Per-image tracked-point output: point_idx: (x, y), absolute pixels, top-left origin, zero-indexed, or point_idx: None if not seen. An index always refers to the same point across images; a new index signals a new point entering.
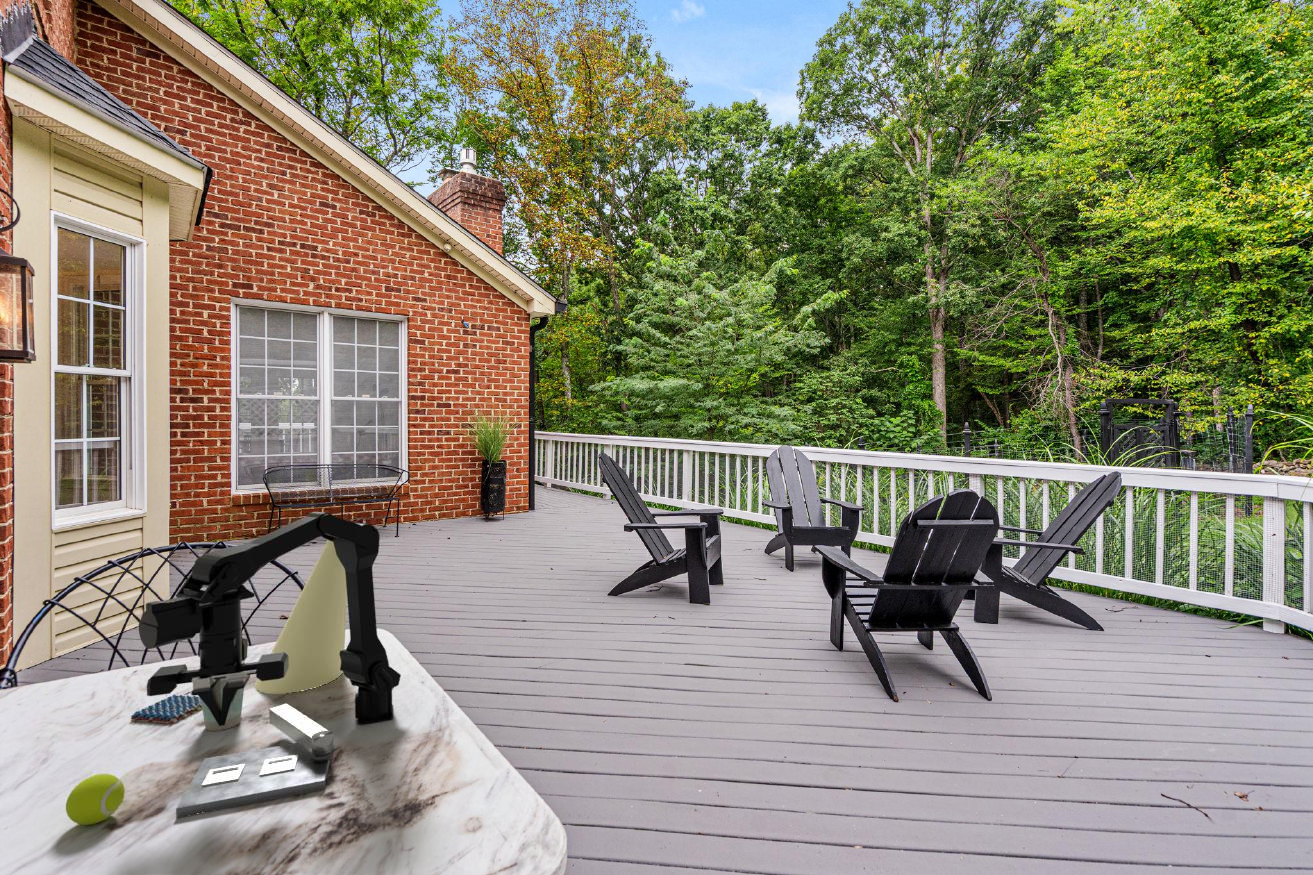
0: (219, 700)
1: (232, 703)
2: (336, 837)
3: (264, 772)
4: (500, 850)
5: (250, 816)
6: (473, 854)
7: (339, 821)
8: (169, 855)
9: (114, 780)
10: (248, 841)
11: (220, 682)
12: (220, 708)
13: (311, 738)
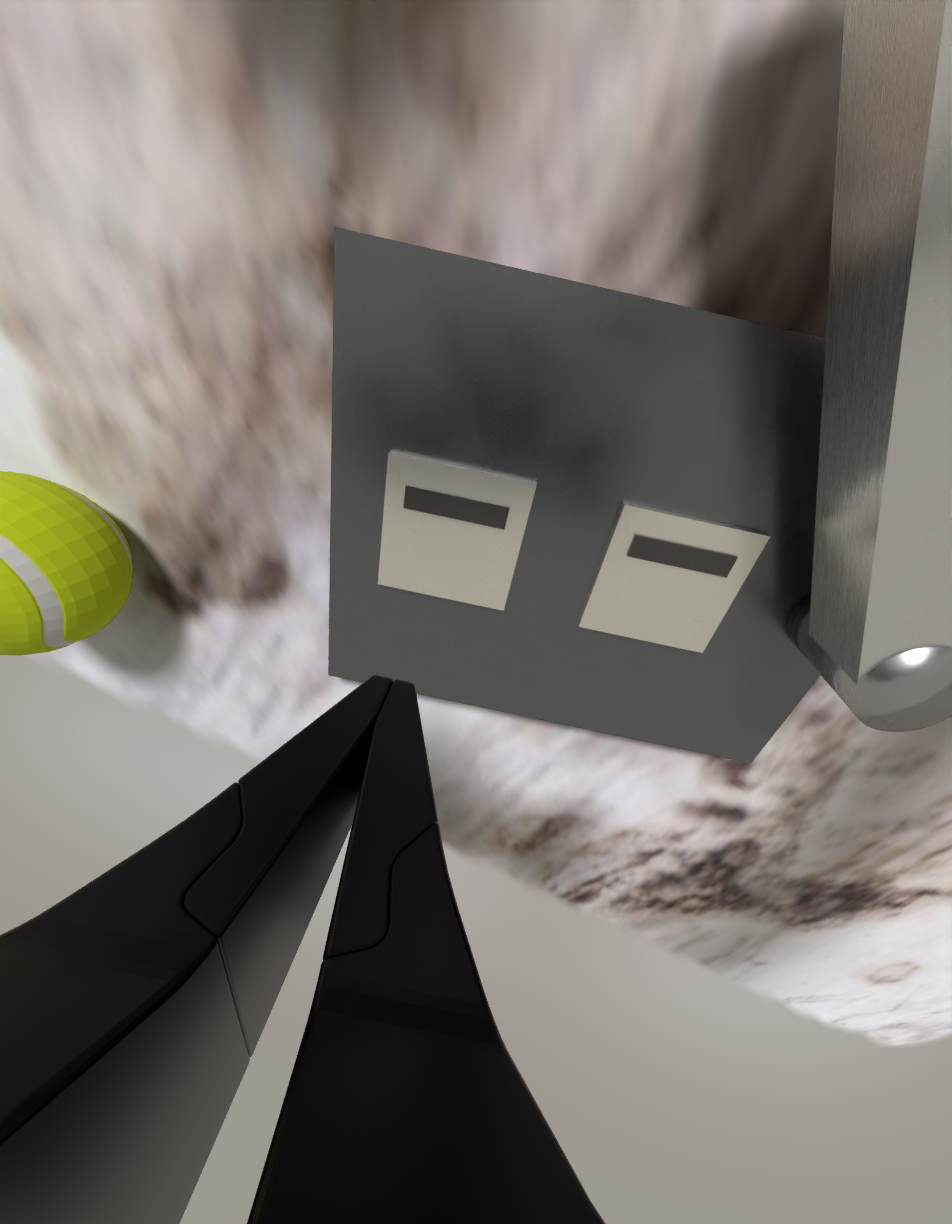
0: (284, 909)
1: (433, 810)
2: (671, 893)
3: (598, 618)
4: (862, 1016)
5: (527, 748)
6: (825, 1006)
7: (699, 861)
8: None
9: (25, 616)
10: (515, 825)
11: (51, 1108)
12: (332, 828)
13: (853, 680)
